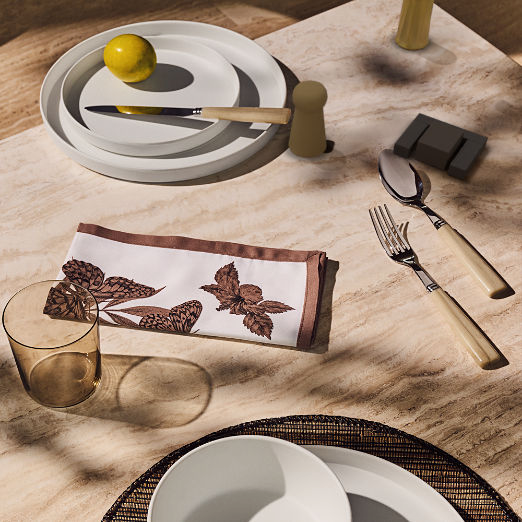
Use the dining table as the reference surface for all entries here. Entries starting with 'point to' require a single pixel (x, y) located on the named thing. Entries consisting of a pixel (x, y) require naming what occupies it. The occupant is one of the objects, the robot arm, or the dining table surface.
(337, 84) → the dining table surface
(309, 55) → the dining table surface
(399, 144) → the dark gray u-shaped block
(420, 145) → the charcoal block
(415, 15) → the vase
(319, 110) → the olive pawn
